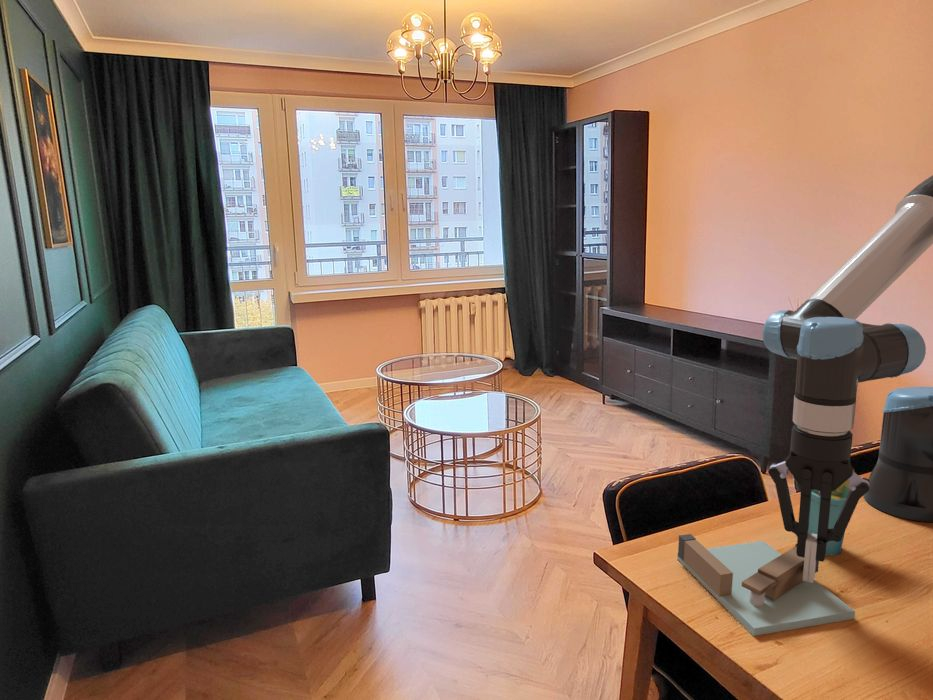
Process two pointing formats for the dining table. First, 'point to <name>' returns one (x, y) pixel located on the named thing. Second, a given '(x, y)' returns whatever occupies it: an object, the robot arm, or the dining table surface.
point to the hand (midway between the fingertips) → (808, 577)
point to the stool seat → (755, 612)
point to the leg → (778, 575)
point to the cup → (835, 509)
